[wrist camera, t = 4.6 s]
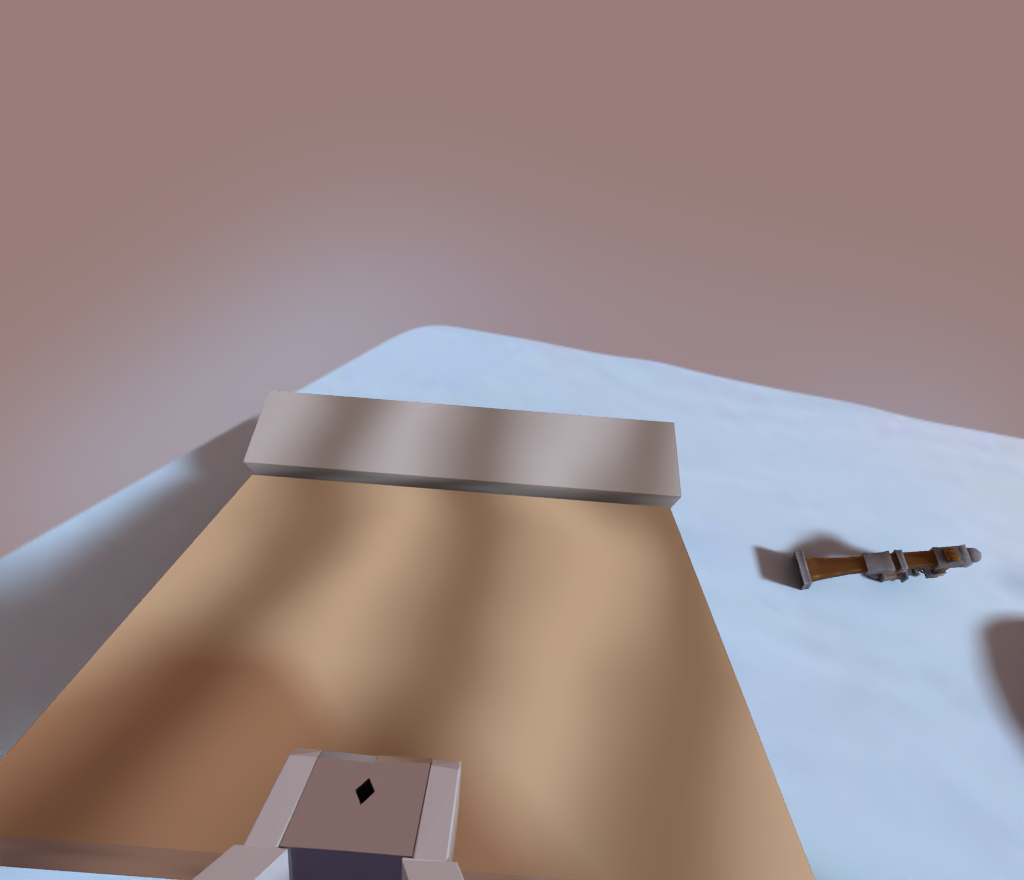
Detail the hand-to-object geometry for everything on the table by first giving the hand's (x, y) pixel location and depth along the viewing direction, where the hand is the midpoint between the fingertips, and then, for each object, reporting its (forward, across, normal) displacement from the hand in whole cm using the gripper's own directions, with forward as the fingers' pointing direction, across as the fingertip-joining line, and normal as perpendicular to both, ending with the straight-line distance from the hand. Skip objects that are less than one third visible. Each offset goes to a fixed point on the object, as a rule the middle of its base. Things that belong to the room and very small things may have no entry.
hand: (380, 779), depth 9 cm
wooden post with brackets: (+19, +22, -5) cm, 29 cm away
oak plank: (+7, 0, -3) cm, 8 cm away
